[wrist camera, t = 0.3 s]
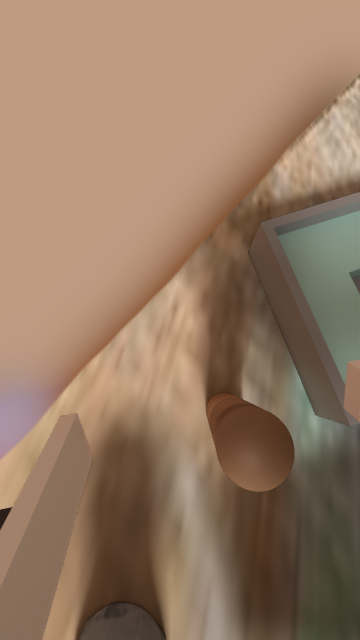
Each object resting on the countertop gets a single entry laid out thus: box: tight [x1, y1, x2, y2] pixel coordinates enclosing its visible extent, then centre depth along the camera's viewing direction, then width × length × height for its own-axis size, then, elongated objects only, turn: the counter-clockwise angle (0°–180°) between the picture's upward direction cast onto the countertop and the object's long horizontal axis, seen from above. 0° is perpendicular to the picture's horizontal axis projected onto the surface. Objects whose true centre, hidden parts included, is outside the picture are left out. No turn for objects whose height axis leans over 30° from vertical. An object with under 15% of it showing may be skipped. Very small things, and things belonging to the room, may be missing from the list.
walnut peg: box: [206, 392, 294, 492], centre depth 19 cm, size 4×4×14 cm
